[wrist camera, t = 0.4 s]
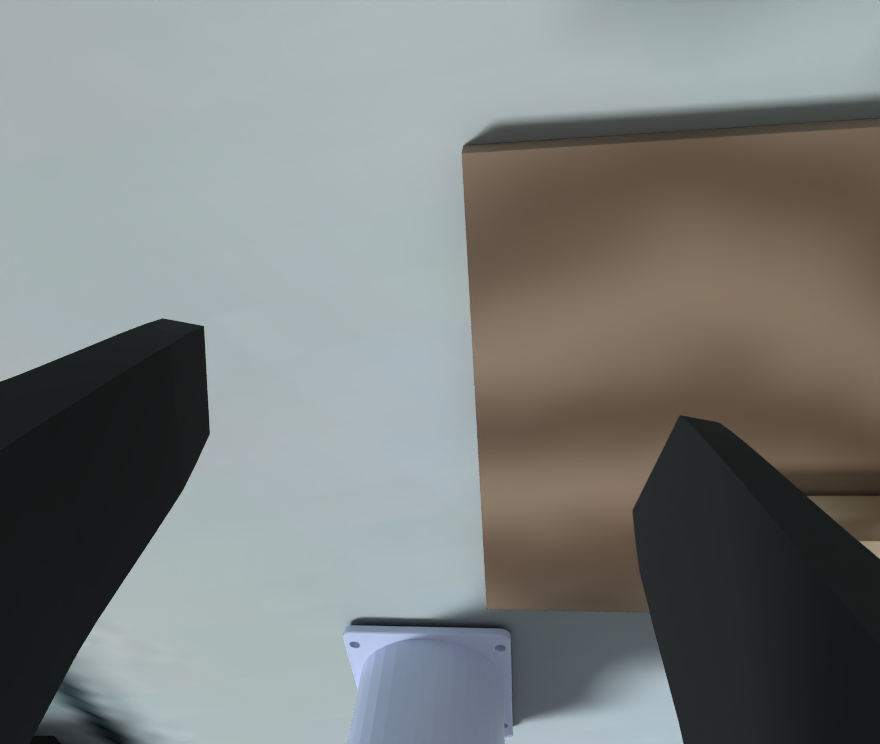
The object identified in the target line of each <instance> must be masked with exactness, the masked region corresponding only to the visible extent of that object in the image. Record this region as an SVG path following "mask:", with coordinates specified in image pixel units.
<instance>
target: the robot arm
mask: <svg viewBox="0 0 880 744" xmlns="http://www.w3.org/2000/svg"><path fill="white" fill-rule="evenodd" d="M209 434H210V430H209V411H208V393H207V375H206V357H205V338H204V326H200V325H195V324H189V323H184V322H179V321H173V320H168V319H160V320H156V321H153V322H150V323H147V324H144V325H141V326H139V327H136V328H133V329H131V330H128V331H126V332H123V333H121V334H118V335H116V336H113V337H111V338H108V339H106V340H103V341H101V342H99V343H96V344H94V345H91V346H89V347H86V348H84V349H82V350H79V351H77V352H74V353H72V354H69V355H67V356H64V357H62V358H59V359H57V360H55V361H52V362H50V363H47V364H45V365H42V366H40V367H37V368H35V369H32V370H30V371H27V372H25V373H22V374H20V375H17V376H15V377H12V378H9V379H7V380H4V381H1V382H0V744H30V742H31V740H32V738H33V736H34V734H35V732H36V730H37V728H38V726H39V724H40V722H41V721H42V719H43V717H44V715H45V713H46V711H47V709H48V707H49V705H50V704H51V702H52V700H53V698H54V696H55V694H56V692H57V690H58V689H59V687H60V685H61V683H62V681H63V679H64V677H65V675H66V673H67V672H68V670H69V668H70V666H71V664H72V662H73V660H74V658H75V657H76V655H77V653H78V651H79V650H80V648H81V646H82V645H83V643H84V641H85V640H86V638H87V637H88V635H89V633H90V632H91V630H92V628H93V627H94V625H95V623H96V622H97V620H98V619H99V617H100V616H101V614H102V613H103V611H104V610H105V608H106V607H107V605H108V604H109V602H110V601H111V599H112V597H113V596H114V594H115V593H116V591H117V590H118V588H119V587H120V585H121V584H122V582H123V581H124V579H125V578H126V576H127V575H128V573H129V572H130V570H131V569H132V567H133V566H134V564H135V563H136V561H137V560H138V558H139V557H140V555H141V554H142V552H143V551H144V549H145V548H146V546H147V545H148V543H149V542H150V540H151V539H152V537H153V536H154V534H155V533H156V531H157V529H158V528H159V526H160V525H161V523H162V522H163V520H164V519H165V517H166V516H167V514H168V513H169V511H170V510H171V508H172V506H173V505H174V503H175V502H176V500H177V499H178V497H179V495H180V494H181V492H182V491H183V489H184V487H185V485H186V483H187V481H188V479H189V477H190V475H191V473H192V471H193V469H194V467H195V465H196V463H197V460H198V458H199V456H200V454H201V452H202V450H203V447H204V445H205V443H206V441H207V439H208V437H209ZM632 512H633V522H634V532H635V542H636V550H637V557H638V565H639V572H640V576H641V580H642V584H643V588H644V592H645V596H646V600H647V604H648V608H649V611H650V615H651V619H652V623H653V627H654V631H655V634H656V638H657V642H658V646H659V649H660V653H661V657H662V661H663V664H664V668H665V672H666V676H667V679H668V683H669V687H670V691H671V694H672V698H673V702H674V706H675V710H676V713H677V717H678V721H679V725H680V730H681V734H682V739H683V743H684V744H880V559H879V558H878V557H877V556H876V555H875V554H873V553H872V552H871V551H870V550H869V549H867V548H866V547H865V546H864V545H863V544H862V543H860V542H859V541H858V540H857V539H856V538H854V537H853V536H852V535H851V534H850V533H849V532H847V531H846V530H845V529H844V528H843V527H842V526H840V525H839V524H838V523H837V522H836V521H835V520H833V519H832V518H831V517H830V516H829V515H828V514H827V513H825V512H824V511H823V510H822V509H821V508H820V507H819V506H817V505H816V504H815V503H814V502H813V501H812V500H811V499H809V498H808V497H807V496H806V495H805V494H804V493H803V492H802V491H800V490H799V489H798V488H797V487H796V486H795V485H794V484H792V483H791V482H790V481H789V480H788V479H787V478H786V477H785V476H783V475H782V474H781V473H780V472H779V471H778V470H777V469H776V468H774V467H773V466H772V465H771V464H770V463H769V462H768V461H766V460H765V459H764V458H763V457H762V456H761V455H759V454H758V453H757V452H756V451H755V450H754V449H752V448H751V447H750V446H749V445H748V444H747V443H745V442H744V441H743V440H742V439H741V438H739V437H738V436H737V435H736V434H734V433H733V432H732V431H730V430H729V429H728V428H726V427H725V426H724V425H722V424H721V423H719V422H715V421H709V420H704V419H698V418H693V417H688V416H682V415H679V417H678V419H677V421H676V423H675V425H674V427H673V429H672V431H671V433H670V435H669V438H668V440H667V442H666V444H665V446H664V448H663V450H662V452H661V454H660V456H659V458H658V460H657V462H656V464H655V466H654V468H653V470H652V472H651V474H650V476H649V478H648V480H647V482H646V484H645V486H644V488H643V490H642V492H641V494H640V496H639V498H638V500H637V502H636V504H635V506H634V508H633V510H632ZM343 638H344V642H345V646H346V649H347V653H348V657H349V660H350V664H351V667H352V671H353V675H354V678H355V682H356V686H357V689H358V691H357V696H356V701H355V706H354V711H353V716H352V722H351V727H350V732H349V737H348V742H347V744H505V740H504V739H509V738H511V737H512V736H513V720H512V674H511V635H510V633H509V632H508V631H507V630H505V629H500V628H454V627H408V626H361V625H352V626H348V627H346V628H345V630H344V634H343Z"/></svg>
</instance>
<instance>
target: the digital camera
mask: <svg viewBox="0 0 880 744" xmlns="http://www.w3.org/2000/svg"><path fill="white" fill-rule="evenodd" d="M54 740H55V741H54ZM53 742H54V743H53ZM30 744H61V743H60V742H59V741H58V740H57V739H56V738H55V737H54V736H33V738H32V740H31V742H30Z"/></svg>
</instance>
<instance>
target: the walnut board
mask: <svg viewBox="0 0 880 744" xmlns="http://www.w3.org/2000/svg"><path fill="white" fill-rule="evenodd" d="M462 166H463V184H464V202H465V220H466V238H467V256H468V275H469V293H470V311H471V329H472V347H473V365H474V383H475V401H476V419H477V437H478V455H479V474H480V492H481V510H482V528H483V546H484V564H485V582H486V600H487V609H504V610H560V611H616V612H650V611H649V608H648V604H647V600H646V596H645V592H644V588H643V584H642V580H641V576H640V572H639V565H638V557H637V550H636V542H635V532H634V522H633V512H632V510H633V508H634V506H635V504H636V502H637V500H638V498H639V496H640V494H641V492H642V490H643V488H644V486H645V484H646V482H647V480H648V478H649V476H650V474H651V472H652V470H653V468H654V466H655V464H656V462H657V460H658V458H659V456H660V454H661V452H662V450H663V448H664V446H665V444H666V442H667V440H668V438H669V435H670V433H671V431H672V429H673V427H674V425H675V423H676V421H677V419H678V417H679V415H682V416H688V417H693V418H698V419H704V420H709V421H715V422H719V423H721V424H722V425H724V426H725V427H726V428H728V429H729V430H730V431H732V432H733V433H734V434H736V435H737V436H738V437H739V438H741V439H742V440H743V441H744V442H745V443H747V444H748V445H749V446H750V447H751V448H752V449H754V450H755V451H756V452H757V453H758V454H759V455H761V456H762V457H763V458H764V459H765V460H766V461H768V462H769V463H770V464H771V465H772V466H773V467H774V468H776V469H777V470H778V471H779V472H780V473H781V474H782V475H783V476H785V477H786V478H787V479H788V480H789V481H790V482H791V483H792V484H794V485H795V486H796V487H797V488H798V489H799V490H800V491H802V492H803V493H804V494H805V495H806V496H880V118H874V119H859V120H844V121H829V122H813V123H798V124H783V125H768V126H752V127H737V128H722V129H707V130H691V131H676V132H661V133H646V134H630V135H615V136H600V137H585V138H569V139H554V140H539V141H523V142H508V143H493V144H478V145H463V150H462Z"/></svg>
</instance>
